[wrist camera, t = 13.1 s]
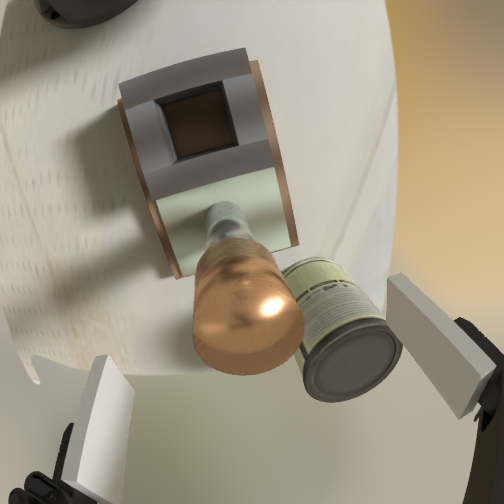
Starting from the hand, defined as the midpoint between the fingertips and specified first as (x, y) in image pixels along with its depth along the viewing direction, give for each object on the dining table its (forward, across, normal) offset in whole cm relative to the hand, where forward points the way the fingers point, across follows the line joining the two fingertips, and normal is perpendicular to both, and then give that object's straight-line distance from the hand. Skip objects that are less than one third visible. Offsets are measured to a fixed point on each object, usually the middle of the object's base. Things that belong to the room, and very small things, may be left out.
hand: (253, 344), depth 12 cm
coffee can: (+21, +8, -14) cm, 26 cm away
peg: (+19, 0, 0) cm, 19 cm away
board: (+21, 0, +4) cm, 22 cm away
